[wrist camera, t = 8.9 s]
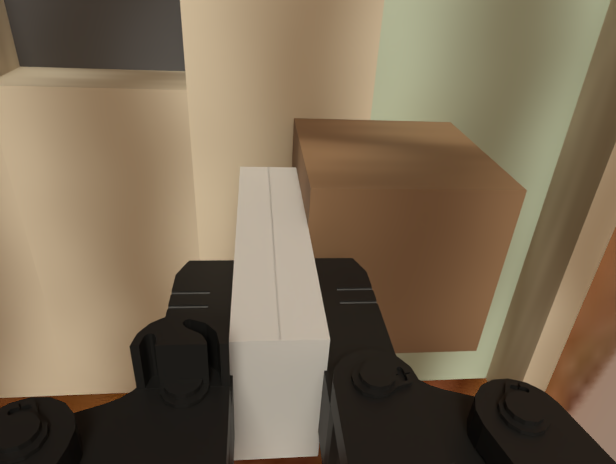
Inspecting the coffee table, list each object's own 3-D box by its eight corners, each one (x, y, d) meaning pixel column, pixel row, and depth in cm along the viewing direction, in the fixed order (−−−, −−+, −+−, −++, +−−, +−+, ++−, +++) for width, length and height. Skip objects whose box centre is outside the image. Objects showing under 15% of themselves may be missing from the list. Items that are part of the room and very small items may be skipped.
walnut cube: (288, 254, 16) (299, 356, 12) (293, 118, 13) (311, 188, 9) (422, 253, 16) (476, 351, 12) (450, 122, 14) (526, 190, 10)
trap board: (-65, 351, 19) (-145, 452, 15) (-326, -213, 11) (-651, -303, 7) (483, 334, 22) (533, 418, 18) (628, -135, 13) (783, -168, 9)
